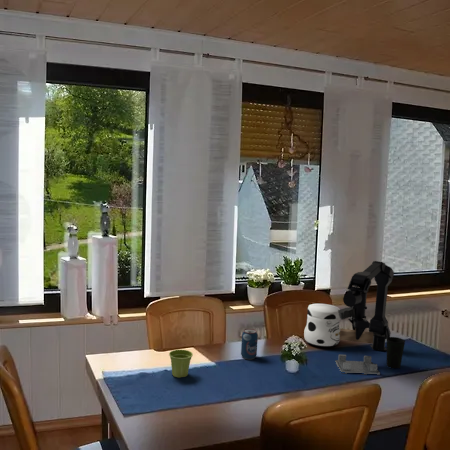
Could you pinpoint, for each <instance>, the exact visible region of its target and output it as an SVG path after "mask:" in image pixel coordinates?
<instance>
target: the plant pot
mask: <svg viewBox="0 0 450 450" xmlns="http://www.w3.org/2000/svg"><path fill="white" fill-rule="evenodd" d="M193 355H194V354H193V352H192V351H190V350H187V349H174V350H170V351H169V352H168V356H169V357H170V364H171V375H173V377H175V378H178V379H180V378H185V377H188V375H189V370H190V369H189V368H190V364H191V360H192V357H193Z"/></svg>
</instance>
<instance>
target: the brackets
mask: <svg viewBox="0 0 450 450" xmlns="http://www.w3.org/2000/svg"><path fill="white" fill-rule="evenodd" d="M372 358H373V357H372V355H364V356H363V361H360V360H359V361H357V360H347V354H338V359H336V360H335V362H336V363H335V364H336V366H337V368H338V367H339V368H338V370H339V369H340V370H339V371H341V372H345V373H344V374H347V373H364V374H363V375H367V374H377V375H376V376H380V375H381V372H380V371H379V370H378V363H374V362H373V361H372ZM341 372H340V373H341Z"/></svg>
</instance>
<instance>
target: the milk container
mask: <svg viewBox="0 0 450 450" xmlns="http://www.w3.org/2000/svg"><path fill="white" fill-rule="evenodd" d="M340 309H341V308H340V307H338V306H336V305H334V304H327V303H312V304H311V303H310V304H309V305H308V307H307V312H306V313H307V315H306V323H305V324H306V325H305V327H304V331H303V332H304V333H303V336H304V341H306V343H308V344H310V345H311V346H315V347H320V348H333V347H336V346H338V345H339V344H340V341H341V340H339V339H340V329H341V328H340V322H341V318H340V316H339V313H338V310H340Z"/></svg>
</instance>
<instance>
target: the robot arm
mask: <svg viewBox="0 0 450 450" xmlns="http://www.w3.org/2000/svg"><path fill="white" fill-rule="evenodd" d="M394 275H395V272H394V270H393V269H392V267H390V266H388V265H387V264H386V263H385V262H383V261H379V260H378V261H377V260H373V261H372V263H371V264H370V265H369V266H368V267H366V269H364V270H363V271H357V272H356V273H354V274H353V275H352V276H351V278H350V281H349V284H348V286H347V291H348V292H347V293H345V294H344V296H343V297H342V302H343V303H344V305H345V308H342V309H341V308H340V310H338V313H339V316H340V320H346V319H347V320H348V321H349V322H350V324H351V328H352V330H355V333H356V340H359V338H360V337H361V335H362V333H363V332H364V331H366V329H368V332H373V344H369V345H370V346H369V347H371V349H372V350H373V351H379V352H380V351H381V352H382V351H383V352H387V347H386V339H387V338H388V337H391V334H392V333H391V331H390V327H389V322H388V319H387V317H386V310H387V298H388V289H389V287H388V286H390V284H391V283H392V281H393V278H394ZM372 280H374V281H375V283H376V295H375V296H376V297H375V298H376V299H375V304H374V305H375V308H374V315H373V317H372V318H370V320H368V319H367V316H366V310H367V309H368V307H367V297H368V292H369V289H370V287H371V284H372Z"/></svg>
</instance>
